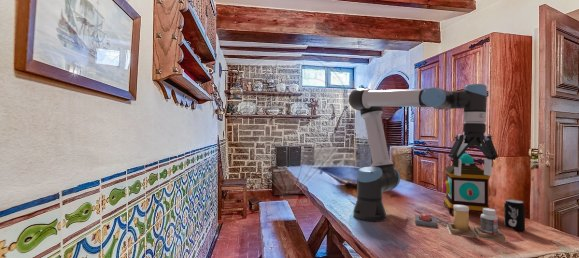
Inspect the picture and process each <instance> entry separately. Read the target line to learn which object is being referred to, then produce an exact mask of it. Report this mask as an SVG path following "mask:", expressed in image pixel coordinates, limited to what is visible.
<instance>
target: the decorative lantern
mask: <svg viewBox="0 0 579 258" xmlns="http://www.w3.org/2000/svg"><path fill="white" fill-rule="evenodd" d="M459 159H461V176H458V175H454V167H453V164H452V165H447V166H446V167H445V168H444V172H445V175H446V177H445V178H446V179H445V181H444V183H443V184H442V185H443V191H444V193H445V197H444V199H443V206H444V207H446V208H448V213H449V215H451V216H452V215H453V214H454V205H465V206H468V207H469V212H472V213H483V208H489V209H491V208H490V206H489V196H490V192H491V189H490V185H489V180H490V178H491V176H488V175H484V168H483V169H482V168H480V167H479V166H478V165H476V163H475V162H474V161H475V160H474V158H473V156H471V155H470V154H468V153H464V154H463V155H462V156H461V157H460V158H459Z"/></svg>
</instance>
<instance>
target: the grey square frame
mask: <svg viewBox="0 0 579 258" xmlns="http://www.w3.org/2000/svg"><path fill="white" fill-rule="evenodd" d="M414 222H415V225H416V226H422V227H431V228H438V222H437V219H436V217H435V216H431V221H425V220H420V214H419V215H418V214H417V215H416V214H415V215H414Z"/></svg>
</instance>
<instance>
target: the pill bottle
mask: <svg viewBox="0 0 579 258" xmlns="http://www.w3.org/2000/svg"><path fill="white" fill-rule="evenodd" d="M489 208H490V207H489ZM489 208H483V212H482V213H481V214H480V227H481V233H486V234H494V235H498V229H499V218H498V216H497V215H496V213H497V212H496V209H494V208H493V209H492V208H490V209H489Z"/></svg>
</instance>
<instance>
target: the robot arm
mask: <svg viewBox="0 0 579 258" xmlns="http://www.w3.org/2000/svg"><path fill="white" fill-rule="evenodd" d="M487 88H488V87H487V85H485V84H483V83H472V84H466V85H465V86H464V89H462V90H452V91H451V90H450V91H449V90H446V89H443V88H440V87H433V86H432V87H428V88H413V89H410V88H409V89H386V90H385V89H384V90H383V89H379V90H374V89H370V88H362V87H360V88H356V89H353V90H352V91H351V92H350V93H349V95H348V104H349V105H350V107H351V108H352V109H353V110H356V111H359V113H360V117H361V118H363V120H364V123H365V129H366V134H367V140H368V145H369V151H370V156H371V161H372V163H371V165H370V166H364V167H363V166H362V167H360V168H359V169H358V170H357V173H356V201H355V205H354V208H353V211H352V212H353V217H354V216H355V217H354V218H356V219H358V220H361V221H366V222H381V220H382V221H385V220H386V219H387V213H386V209H385V207H384V203H383V193H384V192H389V191H391V190H394V189H396V188H397V187H399V185H400V182H401V174H400V172H399V171H398V170H397V169H396V168H395V164H394V162H393V161H391V160H390V156H389V155H390V154H389V149H388V146H387V140H386V136H385V131H384V124H383V120H382V114H383V113H384V110H383V109H384V107H395V108H396V107H399V108H400V107H407V108H409V107H410V108H412V107H413V108H414V107H415V108H433V109H435V110H442V111H443V110H455V109H462V110H463V119H462V120H463V124H462V132H463V133H464V134H461V133H460V134H459V133H458V134H456V138H455V140H454V142H453V145H452V146H451V149H450V151H449V154H448V157H449V158H451V159H452V165H453V167H454V175H458V176H461V159H459V158H460V157H461V156H462V155H463V154H465V152H466V151H467V150H468V149H469V148H470V147H478V149H479V150H480V151H481V153H482V154H483V155H484V157H485V158H484V161H483V162H484V163H483V164H484V165H483V166H484V167H483V170H484V175H488V176H490V177H492V171H493V170H492V168H493V167H494V166H493V165H494V160H495V161H496V159H497V158H499V156H498V152H497V150H496V146H495V145H494V143H493V139H492V135H491V134H485V133H486V131H487V124H486V122H487V101H488V93H487V92H488V89H487ZM384 219H385V220H384Z"/></svg>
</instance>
